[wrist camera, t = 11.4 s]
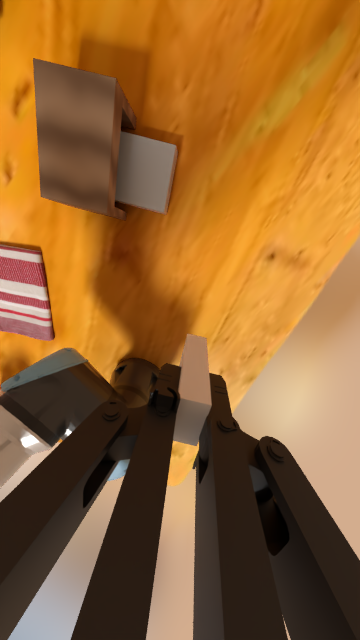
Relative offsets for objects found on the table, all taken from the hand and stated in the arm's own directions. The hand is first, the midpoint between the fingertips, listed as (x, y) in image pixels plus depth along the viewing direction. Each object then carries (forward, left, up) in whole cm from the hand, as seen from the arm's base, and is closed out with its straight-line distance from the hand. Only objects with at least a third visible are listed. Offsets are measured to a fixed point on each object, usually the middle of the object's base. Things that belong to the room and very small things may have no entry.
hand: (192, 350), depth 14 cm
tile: (+17, +19, -29) cm, 38 cm away
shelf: (+17, +23, -28) cm, 40 cm away
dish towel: (-14, +44, -29) cm, 55 cm away
